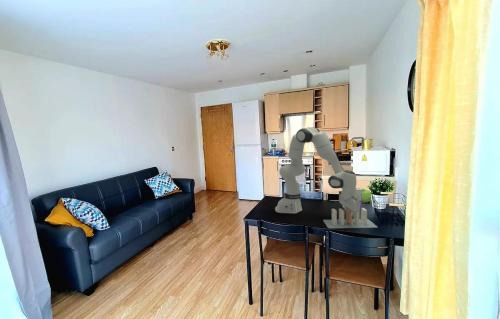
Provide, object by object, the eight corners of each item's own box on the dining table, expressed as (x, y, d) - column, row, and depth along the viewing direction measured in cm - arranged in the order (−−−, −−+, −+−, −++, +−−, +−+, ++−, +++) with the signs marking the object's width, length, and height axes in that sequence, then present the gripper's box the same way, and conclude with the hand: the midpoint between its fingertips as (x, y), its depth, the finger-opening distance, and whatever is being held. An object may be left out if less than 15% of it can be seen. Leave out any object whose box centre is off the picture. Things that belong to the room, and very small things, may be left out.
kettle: (374, 204, 190) (375, 191, 189) (356, 203, 193) (357, 191, 192) (369, 198, 204) (370, 187, 203) (353, 198, 208) (353, 186, 206)
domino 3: (349, 223, 151) (349, 209, 150) (345, 221, 156) (345, 207, 155) (352, 223, 151) (352, 209, 150) (348, 220, 156) (348, 207, 155)
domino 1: (333, 225, 152) (334, 211, 151) (331, 222, 157) (331, 208, 156) (336, 225, 152) (336, 211, 151) (334, 222, 157) (334, 208, 156)
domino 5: (364, 224, 151) (364, 210, 150) (360, 221, 156) (361, 207, 155) (366, 224, 151) (367, 210, 149) (363, 221, 156) (363, 207, 154)
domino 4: (356, 224, 151) (356, 210, 150) (353, 221, 156) (353, 208, 155) (359, 224, 151) (359, 210, 150) (356, 221, 156) (356, 208, 155)
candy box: (359, 206, 186) (359, 187, 184) (362, 209, 180) (362, 189, 178) (342, 207, 187) (342, 188, 185) (344, 209, 182) (344, 189, 179)
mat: (328, 228, 148) (328, 228, 148) (322, 220, 162) (322, 219, 162) (377, 228, 146) (377, 227, 146) (367, 219, 160) (368, 218, 160)
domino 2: (341, 225, 152) (341, 211, 151) (338, 222, 157) (339, 208, 156) (344, 225, 152) (344, 211, 150) (341, 222, 157) (341, 208, 155)
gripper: (362, 198, 141) (362, 219, 143) (345, 190, 162) (345, 208, 163) (353, 199, 141) (353, 220, 142) (337, 190, 161) (337, 209, 163)
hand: (348, 213), depth 153 cm, fingers closed on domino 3, 5 cm apart
